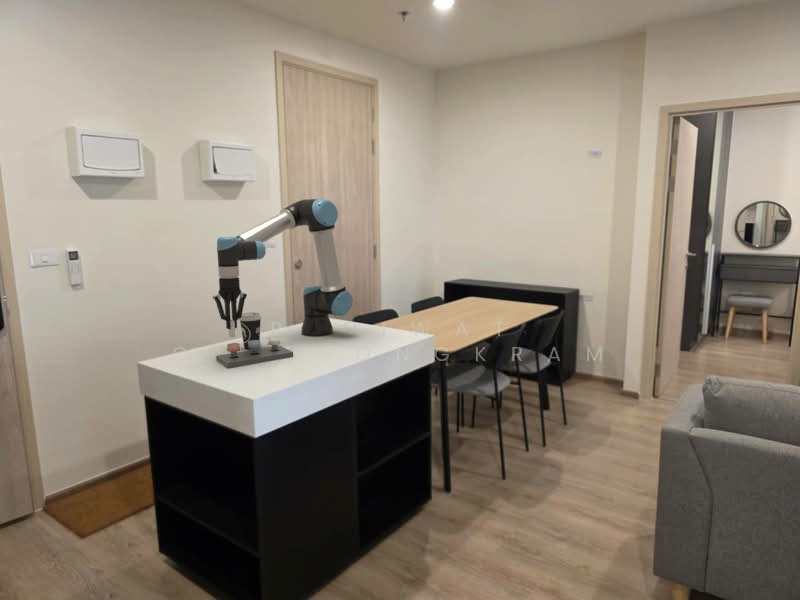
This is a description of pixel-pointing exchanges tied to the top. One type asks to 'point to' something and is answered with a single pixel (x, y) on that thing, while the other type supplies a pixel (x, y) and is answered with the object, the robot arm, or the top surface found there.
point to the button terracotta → (233, 348)
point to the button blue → (254, 345)
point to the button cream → (274, 342)
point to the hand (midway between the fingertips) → (232, 336)
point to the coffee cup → (250, 327)
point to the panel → (253, 356)
